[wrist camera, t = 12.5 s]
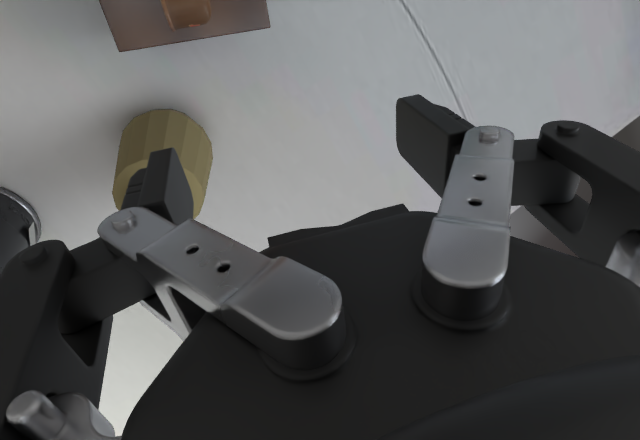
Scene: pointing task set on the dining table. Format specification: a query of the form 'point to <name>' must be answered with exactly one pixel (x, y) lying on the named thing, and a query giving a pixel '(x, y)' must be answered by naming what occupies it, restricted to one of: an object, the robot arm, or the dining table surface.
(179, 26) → the tin
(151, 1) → the stand
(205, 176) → the squeeze bottle
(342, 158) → the dining table surface
